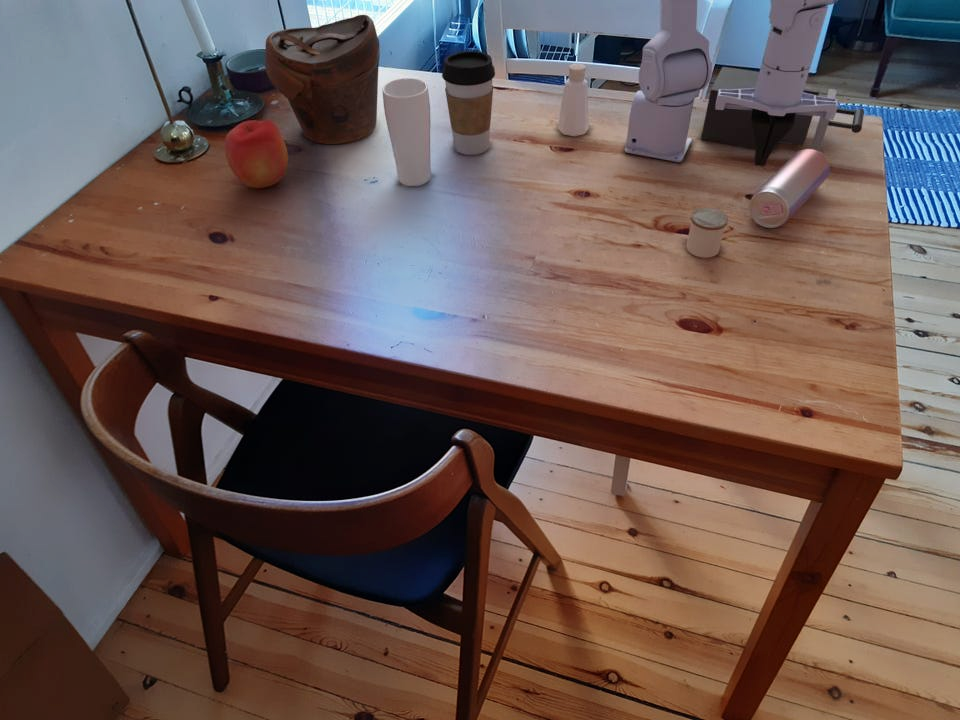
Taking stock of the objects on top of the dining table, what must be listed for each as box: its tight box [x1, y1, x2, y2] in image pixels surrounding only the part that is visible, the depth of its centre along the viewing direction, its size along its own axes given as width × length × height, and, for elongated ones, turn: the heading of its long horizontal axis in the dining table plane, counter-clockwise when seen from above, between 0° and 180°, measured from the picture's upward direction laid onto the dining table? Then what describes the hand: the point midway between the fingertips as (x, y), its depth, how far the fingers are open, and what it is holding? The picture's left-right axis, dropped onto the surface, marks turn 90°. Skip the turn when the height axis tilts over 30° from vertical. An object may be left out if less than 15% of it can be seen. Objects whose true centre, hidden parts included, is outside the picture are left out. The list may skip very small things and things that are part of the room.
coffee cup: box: [441, 50, 496, 156], centre depth 115 cm, size 8×8×15 cm
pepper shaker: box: [557, 62, 590, 137], centre depth 120 cm, size 5×5×11 cm
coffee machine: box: [700, 66, 760, 150], centre depth 118 cm, size 12×10×9 cm
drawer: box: [779, 87, 865, 152], centre depth 115 cm, size 15×8×7 cm, turn 66°
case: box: [264, 14, 381, 145], centre depth 120 cm, size 18×20×18 cm
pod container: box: [685, 207, 729, 259], centre depth 96 cm, size 5×5×5 cm
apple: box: [224, 119, 289, 189], centre depth 111 cm, size 10×10×10 cm
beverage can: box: [748, 148, 831, 229], centre depth 103 cm, size 6×6×15 cm
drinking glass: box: [381, 77, 432, 187], centre depth 108 cm, size 7×7×15 cm
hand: (759, 162), depth 97 cm, fingers closed
